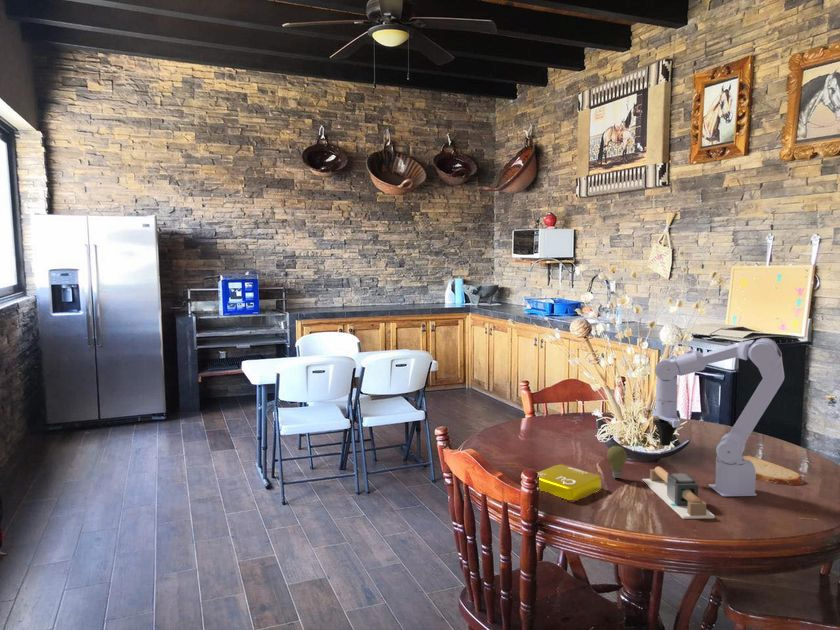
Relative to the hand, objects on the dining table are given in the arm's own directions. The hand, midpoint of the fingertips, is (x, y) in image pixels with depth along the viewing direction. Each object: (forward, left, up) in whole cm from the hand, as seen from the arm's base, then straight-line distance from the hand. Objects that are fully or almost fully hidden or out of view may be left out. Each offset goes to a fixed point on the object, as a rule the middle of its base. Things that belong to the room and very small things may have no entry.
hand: (665, 445), depth 173 cm
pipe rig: (+3, +14, -10) cm, 18 cm away
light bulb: (+14, -1, -11) cm, 18 cm away
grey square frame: (+3, +20, -10) cm, 22 cm away
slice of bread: (-31, -4, -11) cm, 33 cm away
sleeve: (+3, +17, -9) cm, 20 cm away
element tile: (+31, +6, -11) cm, 33 cm away
